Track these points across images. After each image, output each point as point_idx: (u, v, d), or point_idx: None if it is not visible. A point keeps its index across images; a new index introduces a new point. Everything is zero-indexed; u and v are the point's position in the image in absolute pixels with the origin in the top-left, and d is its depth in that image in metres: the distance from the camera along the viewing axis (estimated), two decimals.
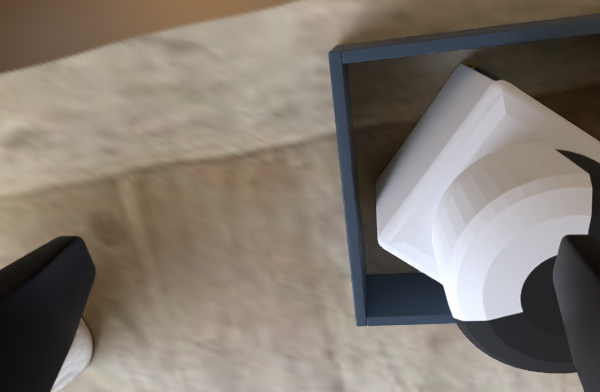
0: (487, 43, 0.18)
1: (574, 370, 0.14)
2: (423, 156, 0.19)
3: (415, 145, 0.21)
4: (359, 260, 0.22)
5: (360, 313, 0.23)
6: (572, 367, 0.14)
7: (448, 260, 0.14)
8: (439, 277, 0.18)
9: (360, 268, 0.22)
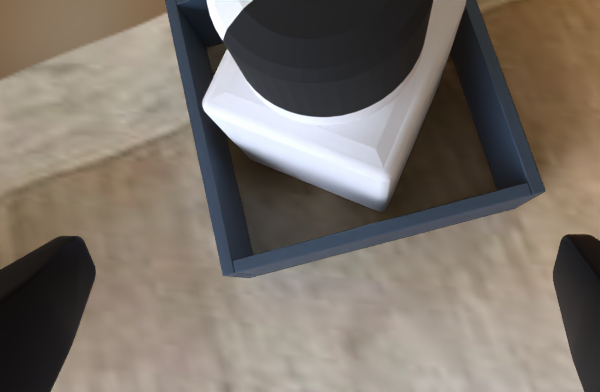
0: None
1: (357, 53, 0.12)
2: None
3: None
4: (215, 189, 0.20)
5: (225, 256, 0.19)
6: (350, 44, 0.12)
7: None
8: (268, 126, 0.17)
9: (217, 198, 0.20)
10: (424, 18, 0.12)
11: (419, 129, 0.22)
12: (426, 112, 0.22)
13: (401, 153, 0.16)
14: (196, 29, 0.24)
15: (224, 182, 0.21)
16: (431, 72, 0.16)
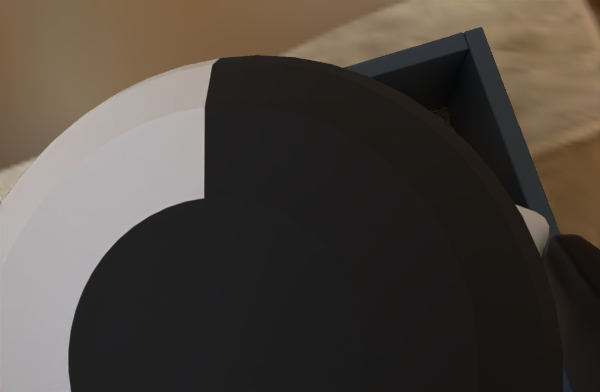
0: None
1: None
2: None
3: None
4: None
5: None
6: None
7: None
8: None
9: None
10: None
11: None
12: None
13: None
14: None
15: None
16: None
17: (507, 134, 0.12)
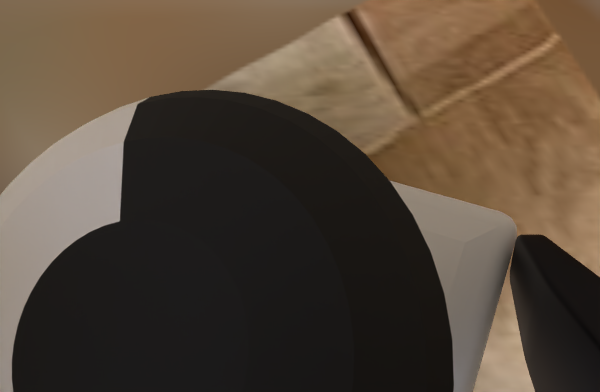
0: None
1: None
2: None
3: None
4: None
5: None
6: None
7: None
8: None
9: None
10: None
11: None
12: None
13: None
14: None
15: None
16: (464, 389, 0.08)
17: None
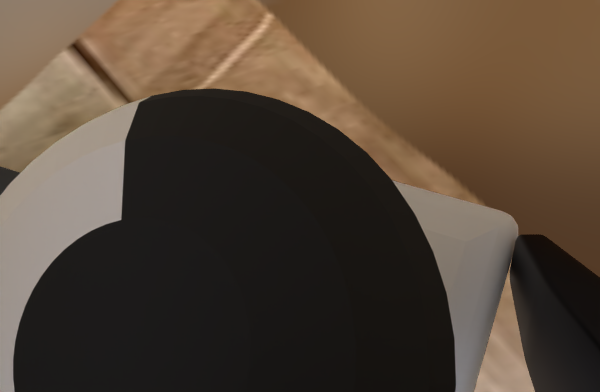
0: None
1: None
2: None
3: None
4: None
5: None
6: None
7: None
8: None
9: None
10: None
11: None
12: None
13: None
14: None
15: None
16: (465, 389, 0.08)
17: None
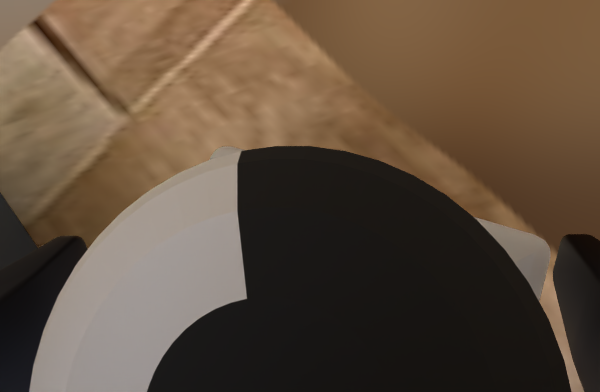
0: None
1: None
2: None
3: None
4: None
5: None
6: None
7: None
8: None
9: None
10: None
11: None
12: None
13: None
14: None
15: None
16: None
17: None
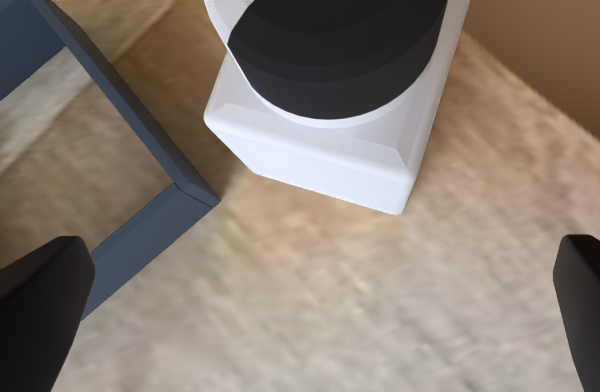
0: None
1: (378, 44, 0.11)
2: None
3: None
4: None
5: None
6: (370, 35, 0.11)
7: None
8: (277, 134, 0.15)
9: None
10: (446, 0, 0.11)
11: None
12: None
13: (423, 150, 0.15)
14: None
15: None
16: (446, 62, 0.15)
17: (54, 26, 0.21)
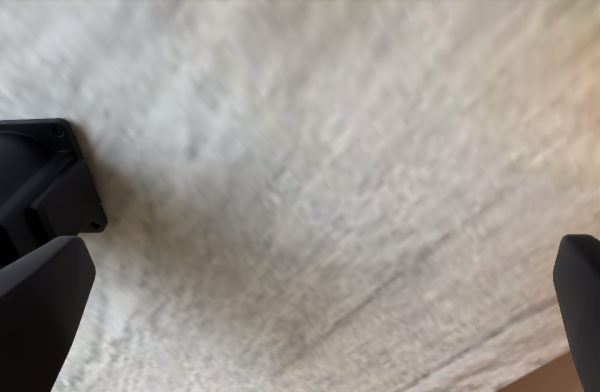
0: None
1: None
2: None
3: None
4: None
5: None
6: None
7: None
8: None
9: None
10: None
11: None
12: None
13: None
14: None
15: None
16: None
17: None
